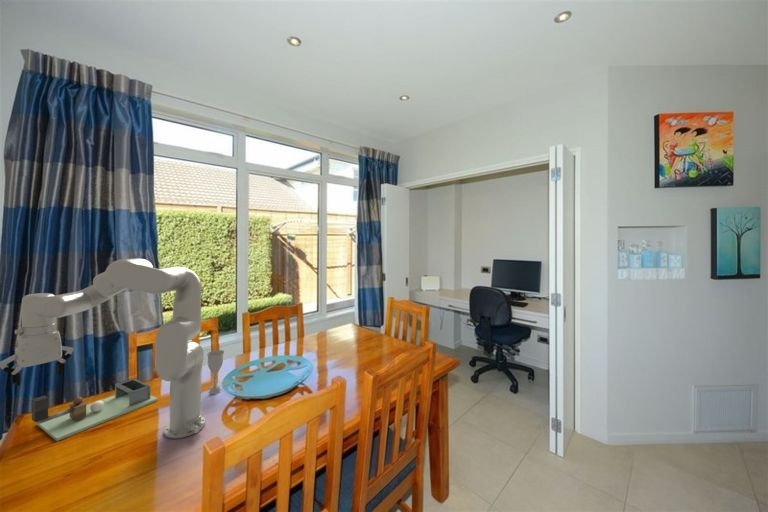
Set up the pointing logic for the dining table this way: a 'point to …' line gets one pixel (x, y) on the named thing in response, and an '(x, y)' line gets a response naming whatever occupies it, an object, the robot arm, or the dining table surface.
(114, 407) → the plate
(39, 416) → the striker
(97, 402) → the ball
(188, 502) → the dining table surface
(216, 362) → the chalice
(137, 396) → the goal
